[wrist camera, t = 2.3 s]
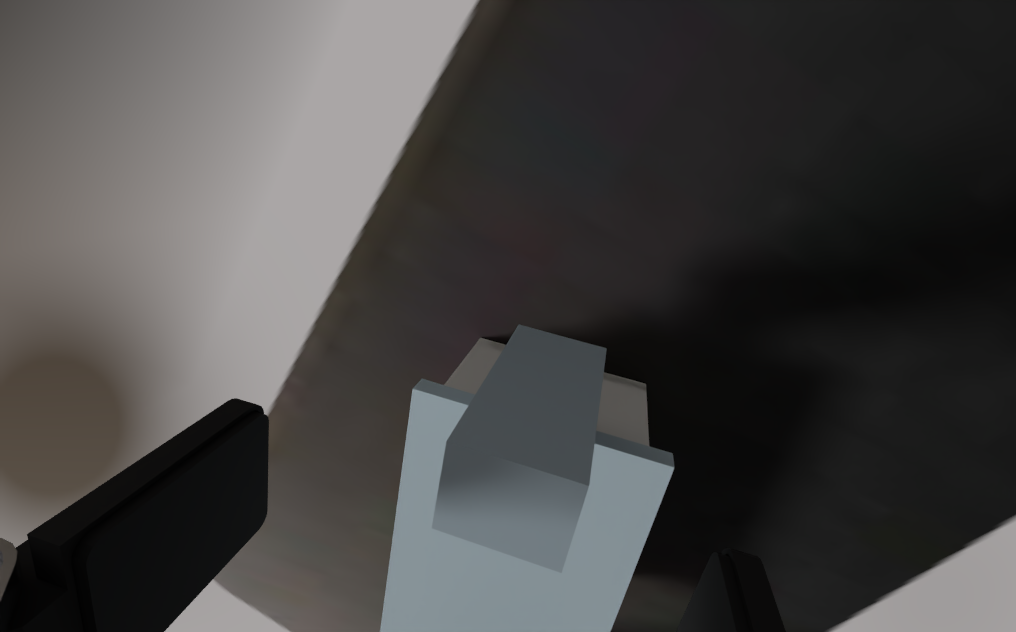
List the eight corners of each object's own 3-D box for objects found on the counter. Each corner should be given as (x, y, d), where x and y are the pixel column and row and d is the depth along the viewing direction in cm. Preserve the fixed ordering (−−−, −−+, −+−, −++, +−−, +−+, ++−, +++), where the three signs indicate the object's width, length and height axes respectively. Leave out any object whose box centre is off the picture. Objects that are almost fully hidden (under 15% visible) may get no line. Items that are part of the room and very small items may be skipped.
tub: (646, 383, 23) (649, 462, 17) (582, 571, 27) (569, 681, 22) (480, 337, 24) (434, 397, 18) (445, 525, 28) (400, 617, 23)
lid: (699, 361, 17) (751, 536, 9) (581, 673, 23) (557, 927, 15) (443, 292, 18) (312, 398, 11) (396, 603, 24) (292, 807, 17)
